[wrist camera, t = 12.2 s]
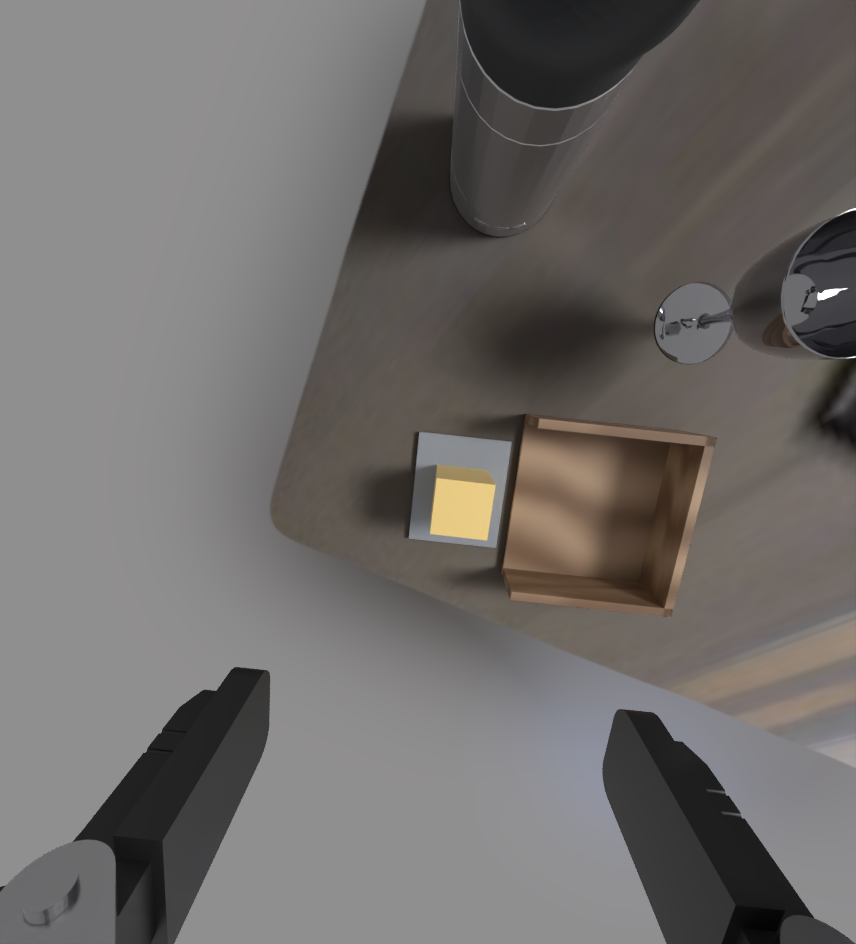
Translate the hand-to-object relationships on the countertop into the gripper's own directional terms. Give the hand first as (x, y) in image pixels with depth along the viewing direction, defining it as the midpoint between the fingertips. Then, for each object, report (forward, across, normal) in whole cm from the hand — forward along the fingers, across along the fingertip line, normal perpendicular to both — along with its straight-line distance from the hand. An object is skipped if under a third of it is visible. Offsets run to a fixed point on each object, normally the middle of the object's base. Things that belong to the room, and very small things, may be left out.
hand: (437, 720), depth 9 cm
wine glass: (+32, -22, -15) cm, 42 cm away
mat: (+32, -2, +3) cm, 32 cm away
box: (+32, -15, +3) cm, 36 cm away
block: (+32, -2, +3) cm, 32 cm away
